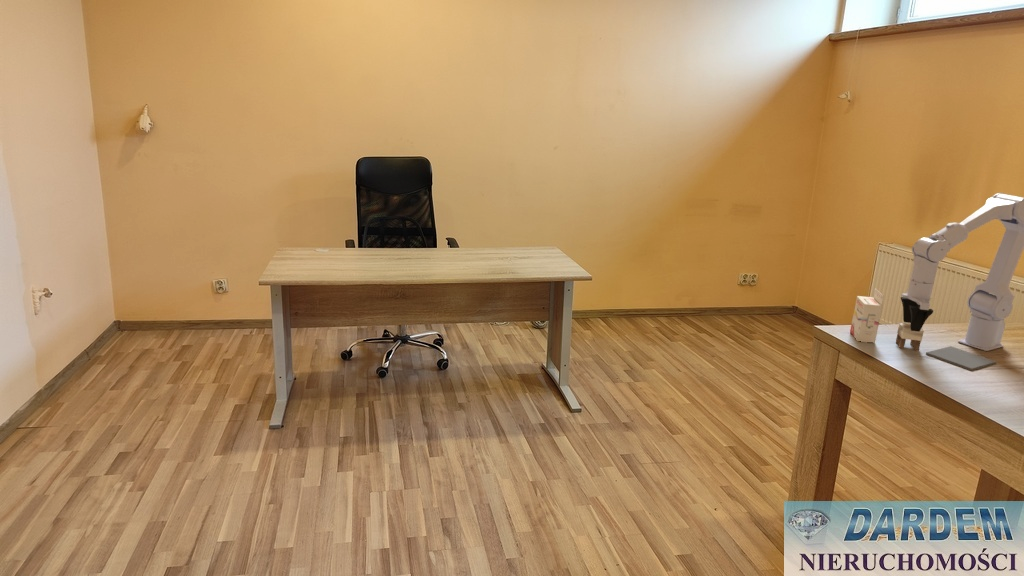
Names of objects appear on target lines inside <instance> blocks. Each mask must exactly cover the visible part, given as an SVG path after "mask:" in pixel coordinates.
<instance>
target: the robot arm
mask: <svg viewBox="0 0 1024 576" xmlns="http://www.w3.org/2000/svg"><path fill="white" fill-rule="evenodd" d="M994 220H999V221H1000V222H1001V223H1002V224H1001V225H1003V227H1004V228H1005V231H1004V234H1003V236H1002V238H1001V241H1000V244H999V246H998V247H997V251H996V253H995V256H994V259H993V262H992V264H991V267H990V270H989V271H988V274H987V277H986V280H985V281H983V282H982V283H980V284H977V285H975V288H974V289H973V292H972V293H971V294H970V295H969V296H968V299H967V303H966V304H967V307H968V308H969V313H971V315H970V318H969V321H968V325H967V330H966V333H965V338H962V339H958V340H957V342H958V343H960V344H963V345H967V346H969V347H972V348H976V349H979V350H981V351H985V352H988V351H992V350H996V349H999V348H1003V347H1005V346H1004V344H1001V342H1002V339H1003V335H1004V332H1005V328H1006V322H1005V319H1006V318H1008V317H1009V316H1010V315H1011V313H1012V311H1013V303H1014V298H1015V296H1014V293H1013V292H1012V290H1011V289H1010V287H1009V286H1010V284H1011V282H1012V279H1013V277H1014V274H1015V271H1016V269H1017V266H1018V263H1019V261H1020V258H1021V256H1022V254H1023V251H1024V197H1023V196H1017V195H1013V194H1006V193H1004V192H998V193H995V194H994V195H991V197H989V198H987V199H986V201H985V203H984V205H983V206H981V207H980V208H978V209H977V210H976V211H974V212H973V213H972V214H970V215H969V216H967V217H966V218H965V219H964V220H962V221H961V222H948V223H947V224H946V225H945V227H943V228H941V229H940V230H938V231H937V232H935V233H932V234H931V235H930V236H929V237H922V238H919V239H917V241H916V242H915V243H914V244H913V245H912V246H911V252H912V254H913V259H912V261H913V267H912V271H911V275H910V278H909V283H908V288H907V290H906V293H905V292H904V293H903V292H902V293H901V296H900V300H901V303H902V319H903V322H904V323H906V324H911V325H910V328H911V331H918V332H919V331H920V330H921V328H922V329H923V326H924V324H925V322H926V321H927V319H928V318H929V317H930V316H931V315H933V313H934V309H932V308H930V306H931V299H932V293H933V289H934V284H935V280H936V276H937V272H938V267H939V264H940V261H942V260H944V259H945V258H946V256H947V254H948V253H949V252H950V251H951V250H952V248H954V247H956V246H958V245H960V244H961V243H963V242H964V241H967V239H968V237H969V234H970V232H973V231H975V230H977V229H979V228H981V227H982V226H984V225H986V224H988V223H990V222H991V221H994Z"/></svg>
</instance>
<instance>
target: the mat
mask: <svg viewBox="0 0 1024 576" xmlns="http://www.w3.org/2000/svg"><path fill="white" fill-rule="evenodd" d="M925 355H926V356H929V357H932V358H934V359H937V360H941V361H943V362H946V363H949V364H951V365H954V366H957V367H960V368H962V369H965V370H968V371H975V370H979V369H981V368H986V367H989V366H992V364H993V365H996V364H997V361H996V360H993V359H990V358H987V357H984V356H982V355H978V354H975V353H972V352H969V351H966V350H963V349H961V348H957V347H954V346H951V345H950V346H945V347H943V348H942V347H941V348H938V349H934V350H931V351H930V350H929V351H927V352H926V353H925ZM985 366H986V367H985ZM978 368H979V369H978Z"/></svg>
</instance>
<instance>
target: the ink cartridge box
mask: <svg viewBox="0 0 1024 576" xmlns="http://www.w3.org/2000/svg"><path fill="white" fill-rule="evenodd" d="M883 303H884V295H883V294H882V293H881V291H880V290H878V289H877V288H876V287H875V288H874V291H873V296H864V295H862V296H861V295H856V299H855V304H854V305H855V306H854V310H853V315H852V320H851V324H850V330H849V332H850V334H851V335H852V337H853V338H854V339H855V338H856V339H855V340H856V341H857V342H858V341H861V343H867V342H873V343H872V344H875V343H876V339H877V335H878V329H879V325H880V320H881V315H882V312H883Z"/></svg>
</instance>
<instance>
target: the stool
mask: <svg viewBox="0 0 1024 576" xmlns="http://www.w3.org/2000/svg"><path fill="white" fill-rule="evenodd" d="M910 325H911V323H905V322H904V323H902V322H899V323H898V327H897V332H896V333H897V335H896V338H895V343H896V344H898V348H899V349H903V348H905V345H906V340H910V344H909V345H910V346H912V347H913V349H914V350H915V351H920V348H921V347H920V346H921V342H922V339H923V337H924V332H925V331H924V329H923V327H922V328H921V330H920V331H919V332H918V331H911V328H910Z"/></svg>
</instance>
